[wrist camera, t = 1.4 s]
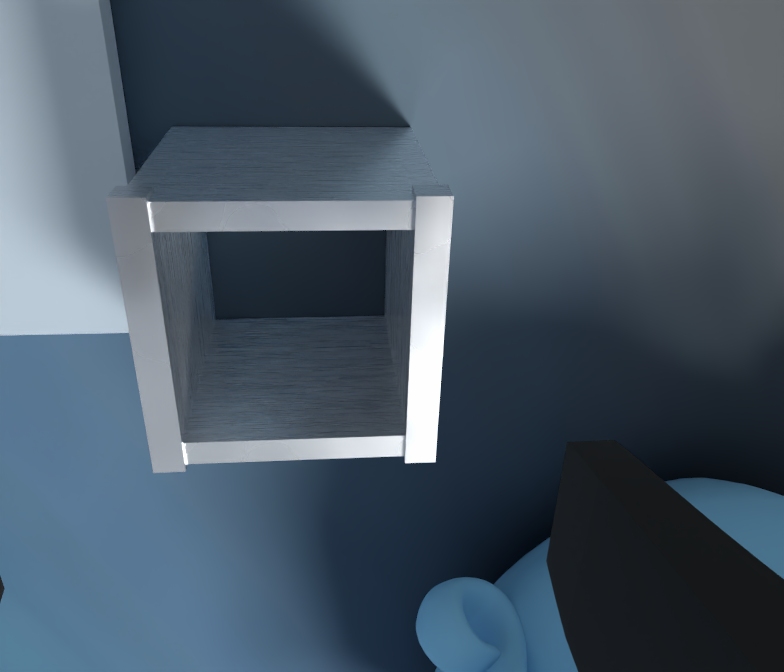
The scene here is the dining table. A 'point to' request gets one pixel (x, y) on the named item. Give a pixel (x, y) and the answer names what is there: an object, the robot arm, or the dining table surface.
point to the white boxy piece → (293, 334)
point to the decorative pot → (536, 596)
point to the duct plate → (60, 167)
